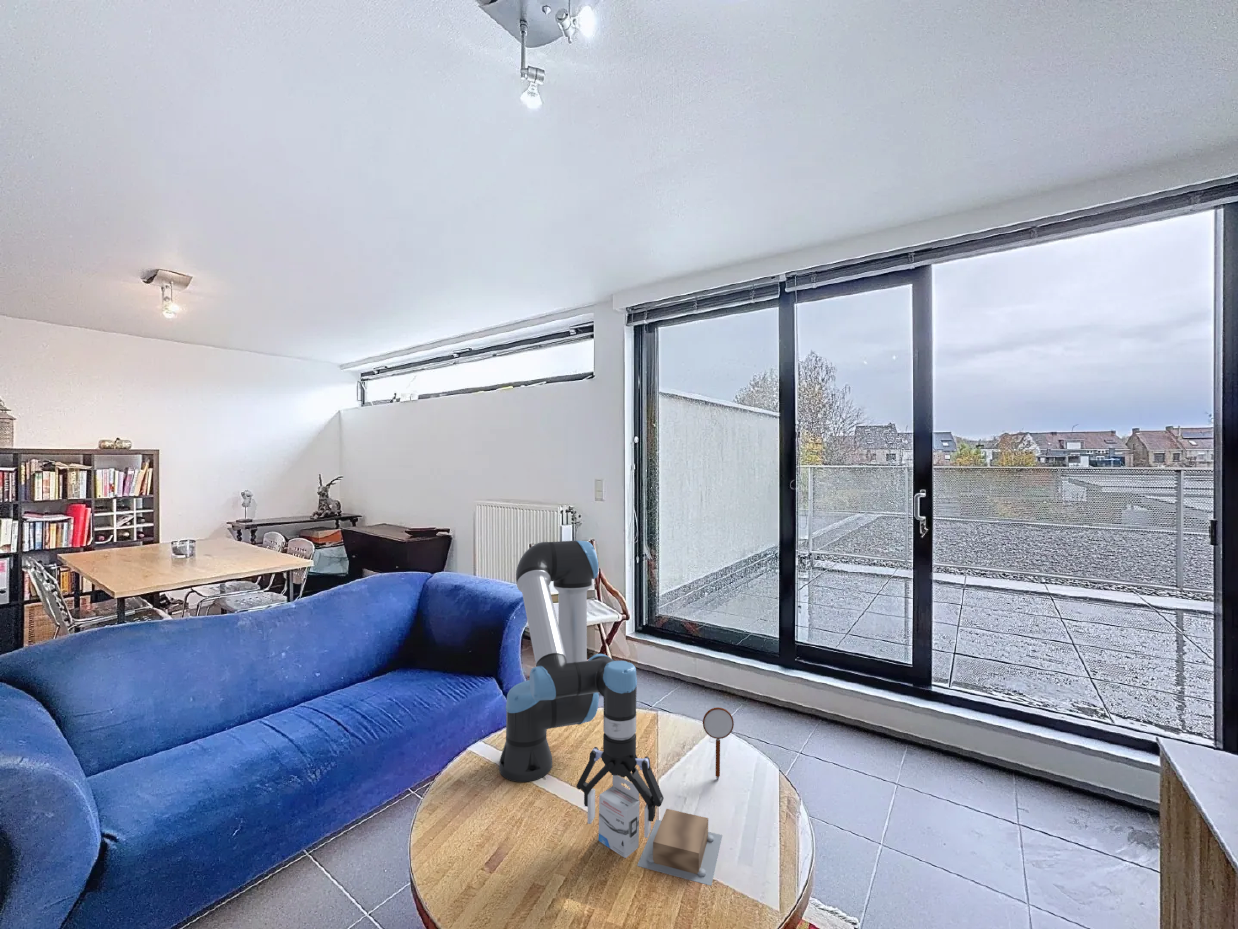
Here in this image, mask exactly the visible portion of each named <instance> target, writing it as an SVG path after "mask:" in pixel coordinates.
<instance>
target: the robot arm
mask: <svg viewBox="0 0 1238 929" xmlns="http://www.w3.org/2000/svg"><path fill="white" fill-rule="evenodd" d="M515 571H516V572H515V581H516V586H517V590H518V591H519V592H521V594H522V598H523V599H522V600H523V604H524V609H525V614H526V615H525V616H526V620H527V625H528V630H529V635H530V636H529V637H530V642H531V646H532V652H533V656H534V660H535V661H534V662H535V666H534V667H532V668H531V669H530V673H529V680H524V681H521V682H519V683H517V684H515V685H514V686H512V687H511V688H510V689H509V691H508V693H507V695H506V703H505V711H506V714H505V715H506V716H505V718H506V720H505V721H506V724H505V743H504V746H503V748H502V752H501V755H500V758H499V761H498V762H499V763H498V764H499V766H498V767H499V768H498V772H499V774H500V775H501V776H502V777H503V778H505V779H507V780H509V781H512V782H517V783H519V782H520V783H522V782H525V783H526V782H530V781H531V782H532V781H536V780H539V779H540V778H543V777H544V776H546V775H547V774H549V772H550V771H551V770H552V769H553V755H552V751H551V749H550V746H549V742H548V739H547V734H548V733H547V730H550V729H556V728H562V727H569V726H574V725H578V726H579V725H582V724H585V723H589V722H591V721H592V720H594V718H595V717H596V715H597V712H598V708H599V701H600V700H599V699H600V696H599V695H601V696H602V697H603V726H602V727H603V735H602V740H603V741H602V743H603V744H602V745H603V746H602V749H603V750H599V748H598V746H594V747H593V748H592V749H591V751H590V752H589V759H588V761H587V764H586V766H585V768H584V770H583V772H582V774H581V775H580V778H579V780H578V782H577V783H576V789H577V790H581V791H582V792H583V798H584V800H583V804H584V807H587V824H589V825H592V823H593V821H594V820H595V817H596V789H595V788H594V787H595V786H596V785H597V784H598V783H600V781H602V779H603V778H604V777H605V775H607V774H608V773H610V774H611V776H613V775H614V776H616V775H618V776H620V777H622V778H627V780H628V781H629V782H631V783H633V785H634V786H635V788H636V789H637V791H638V792H639V796H640V797H641V798H642V799H643V801H644V802H645V806H644V815H643V816H644V819H643V821H644V824H643V825H644V828H643V830H644V832H643V833H644V834H643V835H644V836H643V837H644V838H646V839H648V838H649V836H650V833H651V831H652V822H654V819H655V818H656V807H659V808H660V807H661V806H662V803H663V801H664V795H663V793H662V791H661V788H660V786H659V784H658V781H657V779H656V776H655V774H654V772H653V769H652V767H651V759H650V757H649V756H647V755H646V756H645V757H644V758H640V757H638V755H637V733H636V732H637V689H638V688H637V687H638V686H637V685H638V678H637V668H636V666H635V665H634V664H633V663H632V662H628V661H626V660H614V659H613V658H611V657H610V656H608V655H606V654H604V653H596V654H593V655H592V656H591V657H589V658H588V653H587V652H588V649H587V646H588V637H587V636H588V632H587V631H588V629H587V628H588V624H587V623H588V619H587V618H588V614H587V613H588V610H587V608H588V602H587V600H588V591H589V589H590V588H592V586H593V581H592V580H594V579H597V578H598V576H599V571H600V569H599V558H598V555H597V551H596V550H595V548H594V545H593V544H592V543H591V542H590V541H588V540H577V539H576V540H562V541H561V540H560V541H540V542H538V543H535V544H533V545H532V546H530V547H529V548H528V549H527V550H526V551H525V552H524V554H522V556H521V557H520V560H519V561H518V565H517V567H516V570H515ZM551 582H553V588H554V589H555V590H556V591H557V593H558V606H557V607H558V616H557V614H556V610H555V607H554V600H553V598H552V593H551V589H550V585H551ZM557 617H558V619H557ZM600 759H601V761H602V762H603V764H604V765H603V767H602V768H601V769H600V770H599V771H598V772H597V773H596V774H595V775H594V777H592V778H591V780H589V781H588V782H586V781H587V779H588V778H589V775H590V774H591V772H592V770H593V768H594V766H595V764H596V762H598V761H599V760H600ZM637 765H638V767H639V769H638V768H637V767H636V766H637ZM639 770H640V771H642V775H643V778H644V779H643V778H642V776H641V775H640V773H639Z"/></svg>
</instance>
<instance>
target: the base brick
mask: <svg viewBox="0 0 1238 929" xmlns="http://www.w3.org/2000/svg"><path fill="white" fill-rule="evenodd" d="M708 832H709V818H708V817H704V816H701V815H696V814H691V813H688V812H683V811H678V810H675V809H670V808H666V809H665V811H664V814H663V816H662V819H661V824H660V826H659V829H658V831H657V834H656V836H655V839H654V841H653V861H654V863H656V864H660V865H664V866H667V867H671V868H675V869H679V870H682V871H686V872H690V873H694V874H698V872H699V869H700V868H701V864H702V860H703V856H704V852H705V848H706V844H707V838H708Z"/></svg>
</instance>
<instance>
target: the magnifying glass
mask: <svg viewBox="0 0 1238 929" xmlns="http://www.w3.org/2000/svg"><path fill="white" fill-rule="evenodd" d="M734 723H735V722H734V718H733V715H732V714H731V713H730V711H728V710H727V709H725V708H722V707H713V708H711V709H709V710H707V712H706V713H705V714H704V715H703V719H702V726H703V730H704V732H705V733H706V735H708V737H710V738H712V739H715V778H716V780H720V777H721V739H722V740H723V739H725V738H727V737H728V736H729V735H730V734H731V733H732V731H734V730H733V729H734V725H735V724H734Z"/></svg>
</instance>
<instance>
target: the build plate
mask: <svg viewBox="0 0 1238 929" xmlns="http://www.w3.org/2000/svg"><path fill="white" fill-rule="evenodd" d="M661 821H662V819H660V820H659V819H655V822H654V825H653V827H652V828H651V831H650V834H649V836H648V838H647V841H646V844H645V846H644V849H643V850H642V853H641V854H640V857H639V860H638V862H637V865H636V866H637V867H640V868H643V869H647V870H651V871H655V872H658V873H661V874H666V875H669V876H673V877H678V878H682V879H685V880H688V881H692V882H695V883H700V884H704V885H707V886H712V885H713V880H714V875H715V871H716V866H717V862H718V857H719V853H720V847H721V843H722V838H723V835H722V834H720V833H715V832H710V831H708V838H707V844H706V848H705V852H704V856H703V860H702V864H701V868H700V869H699V872H698V874H694V873H690V872H686V871H682V870H679V869H675V868H671V867H667V866H664V865H660V864H656V863H654V861H653V841H654V839H655V836H656V834H657V831H658V829H659V826H660V824H661Z"/></svg>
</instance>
